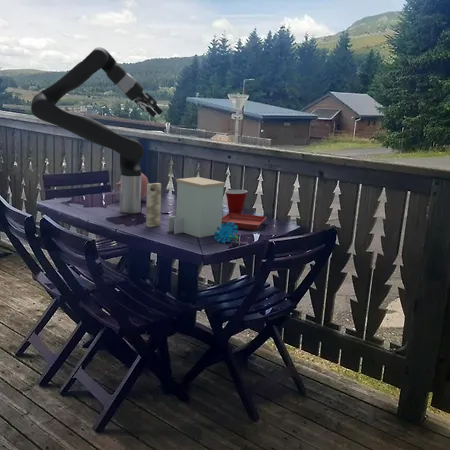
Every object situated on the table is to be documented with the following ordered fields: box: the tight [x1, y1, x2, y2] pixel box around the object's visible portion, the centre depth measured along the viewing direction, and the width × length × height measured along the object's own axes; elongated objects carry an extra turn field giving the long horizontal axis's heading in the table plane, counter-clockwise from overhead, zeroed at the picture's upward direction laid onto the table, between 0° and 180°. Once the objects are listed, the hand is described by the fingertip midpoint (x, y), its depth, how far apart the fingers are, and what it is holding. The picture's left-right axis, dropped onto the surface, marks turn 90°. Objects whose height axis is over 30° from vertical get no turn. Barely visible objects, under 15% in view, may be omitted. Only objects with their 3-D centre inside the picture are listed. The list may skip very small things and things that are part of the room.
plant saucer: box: [221, 212, 267, 231], centre depth 237 cm, size 18×18×3 cm
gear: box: [213, 222, 239, 245], centre depth 207 cm, size 11×6×10 cm
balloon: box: [115, 172, 150, 200], centre depth 272 cm, size 15×20×15 cm
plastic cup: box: [224, 189, 248, 214], centre depth 254 cm, size 11×11×12 cm
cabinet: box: [167, 176, 226, 238], centre depth 216 cm, size 17×15×21 cm
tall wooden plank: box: [145, 182, 162, 228], centre depth 223 cm, size 6×3×18 cm, turn 136°
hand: (157, 114), depth 228 cm, fingers open, 8 cm apart
